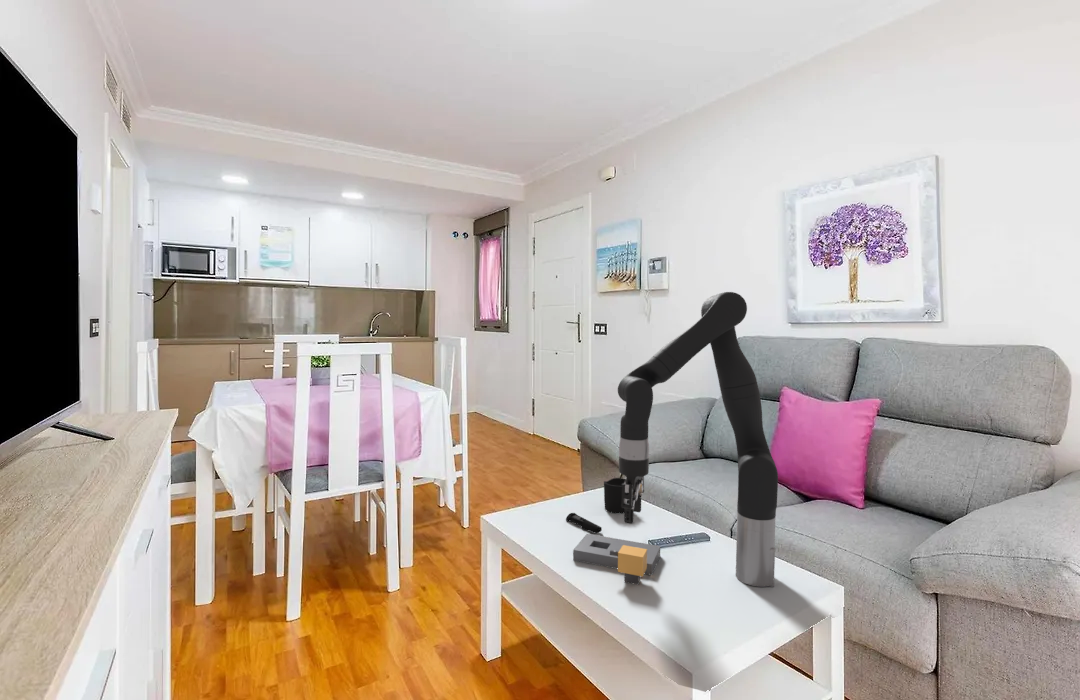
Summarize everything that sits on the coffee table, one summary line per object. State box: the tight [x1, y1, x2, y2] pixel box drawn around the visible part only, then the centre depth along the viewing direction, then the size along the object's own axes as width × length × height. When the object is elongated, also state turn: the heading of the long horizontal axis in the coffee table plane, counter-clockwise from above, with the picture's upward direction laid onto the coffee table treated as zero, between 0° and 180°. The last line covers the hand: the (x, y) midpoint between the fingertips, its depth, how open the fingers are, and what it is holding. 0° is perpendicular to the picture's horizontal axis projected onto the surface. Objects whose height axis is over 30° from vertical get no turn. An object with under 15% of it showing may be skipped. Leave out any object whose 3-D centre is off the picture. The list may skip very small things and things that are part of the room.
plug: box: [610, 545, 647, 585], centre depth 136 cm, size 9×5×8 cm, turn 67°
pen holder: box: [603, 477, 629, 514], centre depth 186 cm, size 9×9×10 cm
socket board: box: [572, 533, 661, 576], centre depth 148 cm, size 22×12×4 cm, turn 67°
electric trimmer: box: [565, 512, 602, 534], centre depth 171 cm, size 4×16×3 cm, turn 35°
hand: (632, 517), depth 135 cm, fingers open, 8 cm apart
